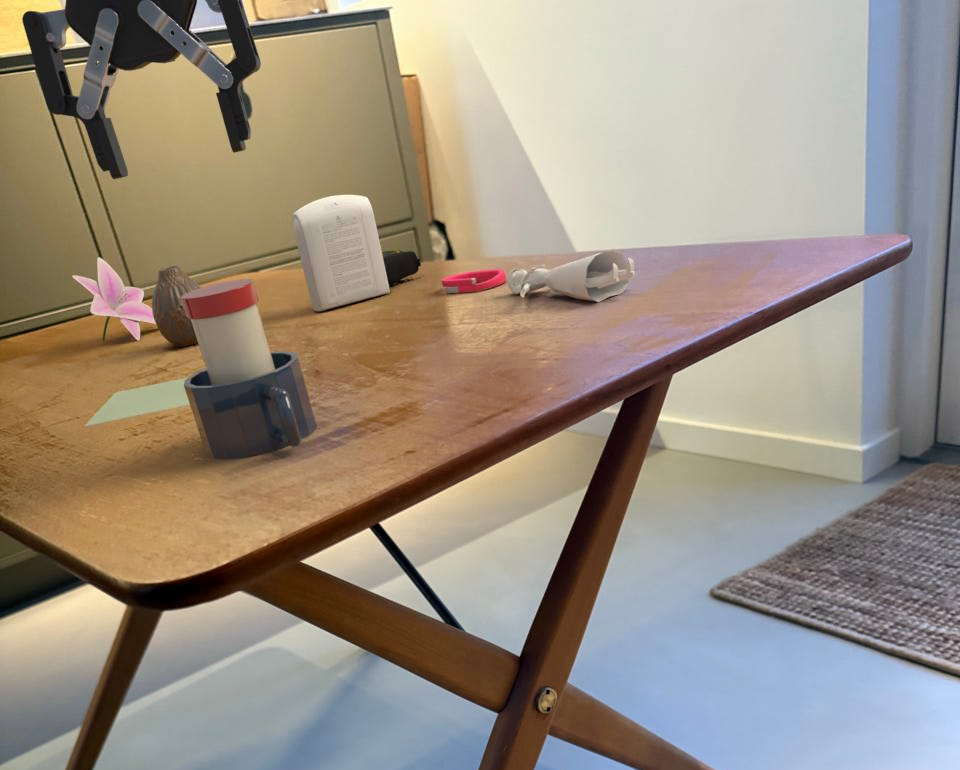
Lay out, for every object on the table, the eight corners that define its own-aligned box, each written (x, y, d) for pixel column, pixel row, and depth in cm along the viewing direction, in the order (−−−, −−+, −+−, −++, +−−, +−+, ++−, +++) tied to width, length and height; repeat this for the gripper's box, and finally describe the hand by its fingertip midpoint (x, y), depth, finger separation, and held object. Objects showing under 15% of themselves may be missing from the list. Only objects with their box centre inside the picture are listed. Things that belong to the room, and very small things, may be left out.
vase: (153, 353, 124) (128, 278, 120) (181, 338, 129) (157, 266, 125) (204, 346, 122) (180, 270, 118) (229, 331, 127) (207, 257, 123)
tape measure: (385, 291, 131) (379, 261, 130) (352, 291, 136) (345, 262, 134) (424, 277, 135) (418, 247, 134) (390, 277, 140) (384, 249, 138)
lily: (93, 363, 131) (104, 290, 126) (46, 325, 136) (55, 253, 132) (174, 364, 140) (187, 296, 135) (127, 328, 145) (138, 261, 141)
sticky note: (85, 431, 96) (83, 426, 96) (116, 397, 106) (114, 392, 106) (231, 401, 95) (229, 396, 95) (248, 369, 106) (246, 365, 106)
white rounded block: (383, 290, 133) (360, 187, 127) (396, 292, 129) (372, 187, 123) (309, 310, 129) (282, 206, 124) (319, 314, 126) (292, 207, 120)
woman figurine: (578, 265, 97) (466, 275, 111) (586, 313, 99) (475, 316, 113) (662, 235, 102) (546, 248, 116) (669, 281, 104) (554, 288, 118)
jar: (223, 455, 79) (174, 302, 73) (233, 434, 83) (187, 289, 78) (292, 441, 79) (247, 287, 73) (298, 420, 83) (257, 274, 78)
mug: (193, 452, 83) (168, 379, 80) (290, 417, 86) (270, 346, 84) (247, 480, 74) (222, 399, 71) (354, 440, 77) (334, 362, 74)
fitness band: (433, 294, 123) (430, 281, 123) (462, 281, 127) (460, 269, 126) (486, 291, 118) (484, 278, 118) (515, 278, 122) (513, 265, 122)
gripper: (215, -132, 67) (284, 140, 75) (3, -84, 67) (94, 181, 75) (195, -156, 60) (273, 146, 68) (-40, -102, 61) (65, 191, 68)
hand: (179, 164), depth 72 cm, fingers open, 8 cm apart
